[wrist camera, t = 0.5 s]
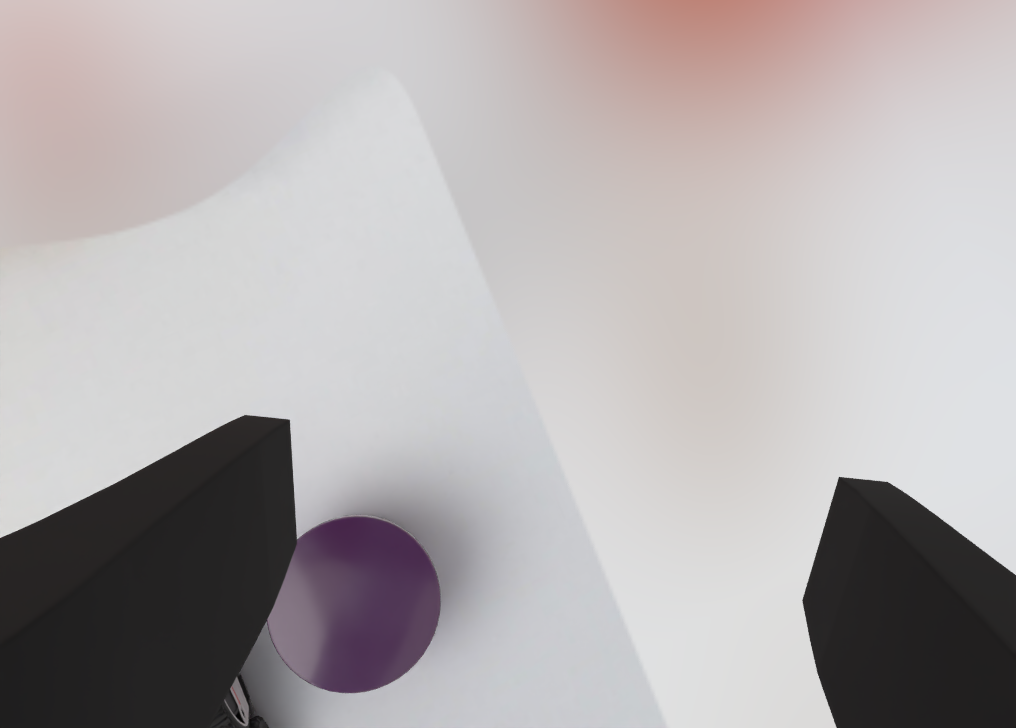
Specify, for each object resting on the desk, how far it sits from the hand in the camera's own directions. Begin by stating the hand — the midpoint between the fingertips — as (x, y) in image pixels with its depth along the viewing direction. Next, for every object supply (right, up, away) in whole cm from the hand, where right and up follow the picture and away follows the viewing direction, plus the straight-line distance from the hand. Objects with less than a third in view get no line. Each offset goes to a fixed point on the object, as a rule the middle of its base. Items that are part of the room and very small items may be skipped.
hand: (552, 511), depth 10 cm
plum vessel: (-7, -7, +23) cm, 25 cm away
